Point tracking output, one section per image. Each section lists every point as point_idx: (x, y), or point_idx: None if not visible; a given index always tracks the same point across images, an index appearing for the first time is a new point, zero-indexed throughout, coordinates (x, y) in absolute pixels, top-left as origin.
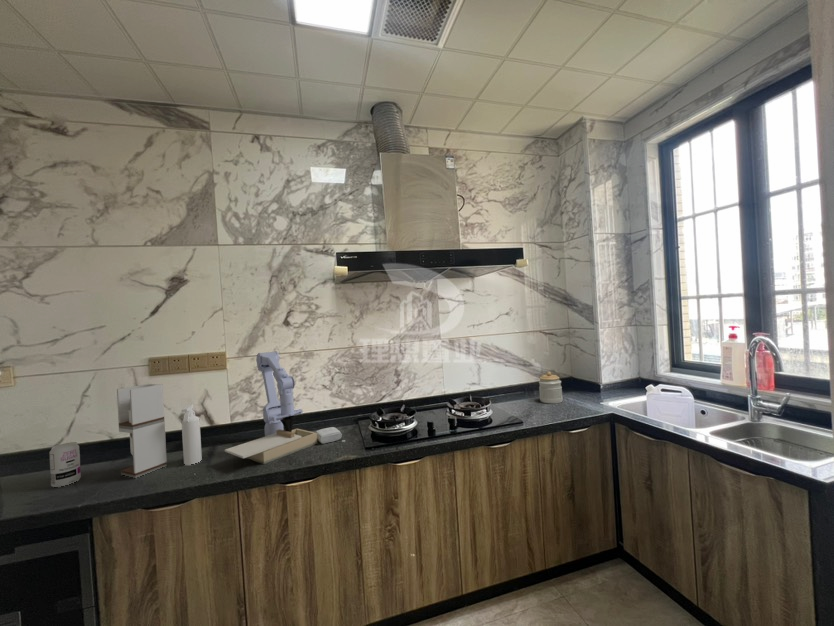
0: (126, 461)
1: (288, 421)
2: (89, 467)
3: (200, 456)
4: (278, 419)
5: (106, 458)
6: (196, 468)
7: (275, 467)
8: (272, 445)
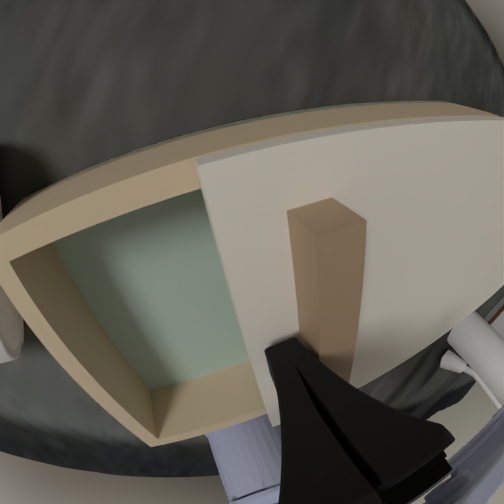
0: (454, 381)
1: (408, 442)
2: (468, 374)
3: (465, 332)
4: (491, 431)
5: (445, 399)
6: None
7: (424, 5)
8: (482, 136)
